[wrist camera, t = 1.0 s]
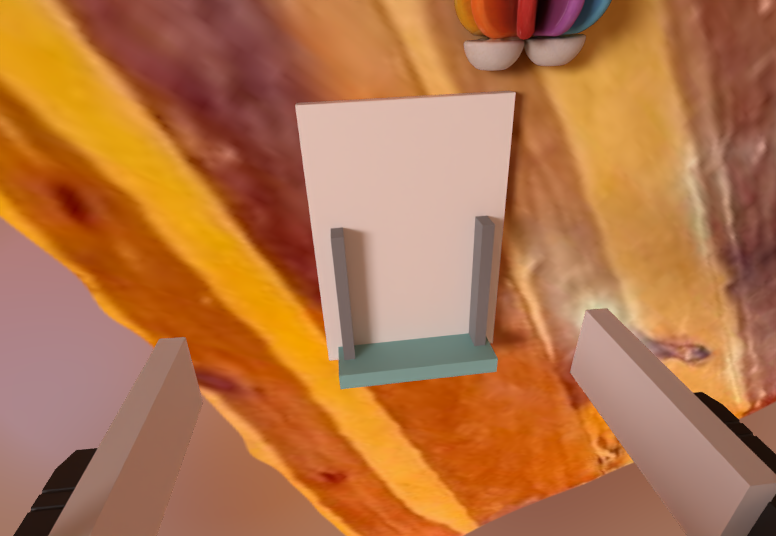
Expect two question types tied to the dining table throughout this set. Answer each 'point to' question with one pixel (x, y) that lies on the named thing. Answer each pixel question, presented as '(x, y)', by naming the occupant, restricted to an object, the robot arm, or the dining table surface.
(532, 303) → the dining table surface
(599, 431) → the dining table surface
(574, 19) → the multicolored rounded lobe cluster
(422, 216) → the board
